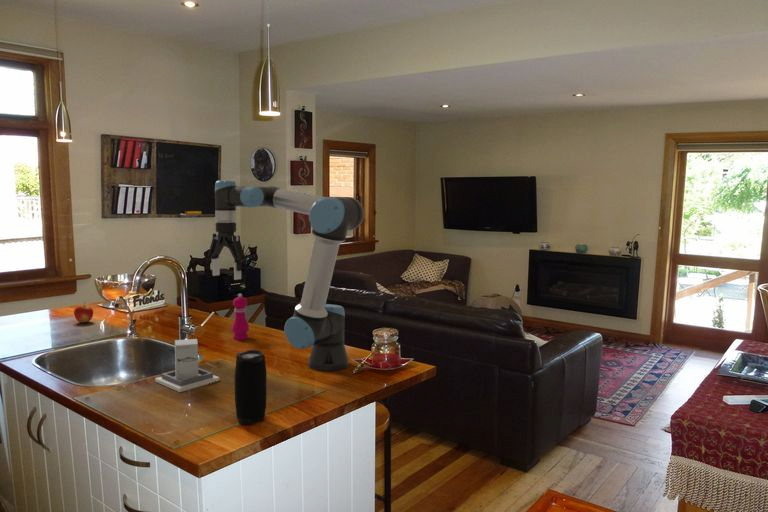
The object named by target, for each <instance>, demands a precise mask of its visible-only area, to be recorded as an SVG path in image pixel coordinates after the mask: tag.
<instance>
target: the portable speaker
mask: <svg viewBox="0 0 768 512" xmlns="http://www.w3.org/2000/svg"><path fill="white" fill-rule="evenodd" d="M235 359H236V361H235V367H234V368H235V369H234V402H235V404H234V407H235V414H236V419H237V420H238V423H239V424H241V425H243V426H252V425H253V423H255V422H258V421H261V422H264V421H265V419H266V417H265V416H266V409H267V398H268V397H267V395H268V394H267V365H266V357H265V354H264V353H263V352H262V351H261V350H258V349H247V350H246V351H243V352H240V353H236V356H235Z"/></svg>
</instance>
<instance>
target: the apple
mask: <svg viewBox="0 0 768 512" xmlns="http://www.w3.org/2000/svg"><path fill="white" fill-rule="evenodd" d="M73 313H74V314H73V315H74V318H75V319H76V321H77V322H79V323H80V324H82V323H88V322H90V321H91V320H92V319H93V316H94V310H93V308H92V307H91V306H90V305H86V302H84V304H81V305H78V306H76V307H75V308H74V310H73Z"/></svg>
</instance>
